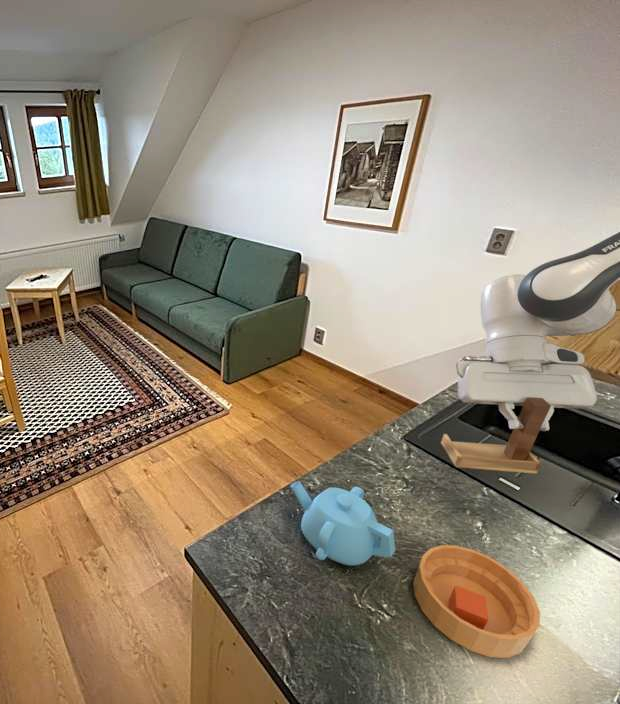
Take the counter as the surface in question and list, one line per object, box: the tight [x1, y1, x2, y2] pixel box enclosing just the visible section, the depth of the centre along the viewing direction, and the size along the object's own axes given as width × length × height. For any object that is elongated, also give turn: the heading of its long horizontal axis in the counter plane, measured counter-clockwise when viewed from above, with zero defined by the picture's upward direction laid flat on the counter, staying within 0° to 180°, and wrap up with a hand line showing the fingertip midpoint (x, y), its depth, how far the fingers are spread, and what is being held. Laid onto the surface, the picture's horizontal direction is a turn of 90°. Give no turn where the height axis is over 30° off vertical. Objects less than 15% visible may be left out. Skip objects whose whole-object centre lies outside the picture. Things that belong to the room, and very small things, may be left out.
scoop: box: [440, 397, 551, 474], centre depth 75 cm, size 7×13×14 cm, turn 77°
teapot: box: [290, 481, 396, 567], centre depth 77 cm, size 20×17×12 cm
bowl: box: [412, 544, 541, 659], centre depth 65 cm, size 15×15×6 cm
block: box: [449, 585, 488, 630], centre depth 64 cm, size 4×4×4 cm
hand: (529, 429), depth 73 cm, fingers closed on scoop, 2 cm apart
